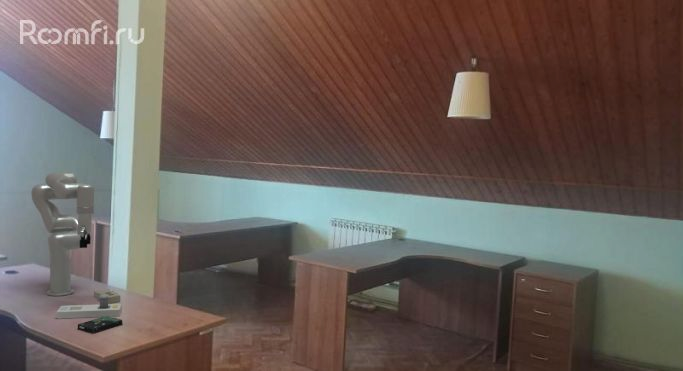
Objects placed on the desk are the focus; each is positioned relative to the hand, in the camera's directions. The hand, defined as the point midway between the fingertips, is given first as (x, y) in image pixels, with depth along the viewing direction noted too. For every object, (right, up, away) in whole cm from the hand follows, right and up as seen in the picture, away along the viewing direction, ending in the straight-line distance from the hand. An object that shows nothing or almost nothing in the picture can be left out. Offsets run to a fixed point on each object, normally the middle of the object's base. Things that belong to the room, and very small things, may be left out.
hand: (85, 245), depth 275 cm
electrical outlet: (+6, -28, +11) cm, 31 cm away
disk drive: (+20, -32, -31) cm, 49 cm away
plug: (+14, -29, -13) cm, 35 cm away
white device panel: (+9, -30, -14) cm, 34 cm away
